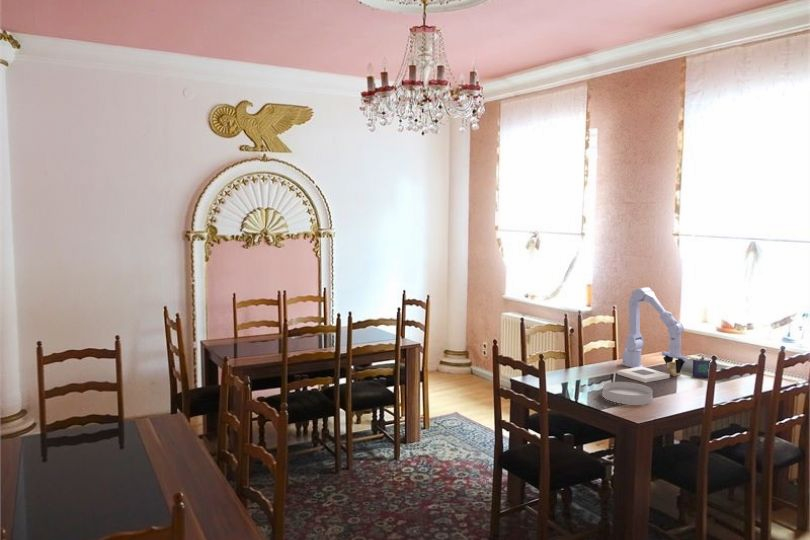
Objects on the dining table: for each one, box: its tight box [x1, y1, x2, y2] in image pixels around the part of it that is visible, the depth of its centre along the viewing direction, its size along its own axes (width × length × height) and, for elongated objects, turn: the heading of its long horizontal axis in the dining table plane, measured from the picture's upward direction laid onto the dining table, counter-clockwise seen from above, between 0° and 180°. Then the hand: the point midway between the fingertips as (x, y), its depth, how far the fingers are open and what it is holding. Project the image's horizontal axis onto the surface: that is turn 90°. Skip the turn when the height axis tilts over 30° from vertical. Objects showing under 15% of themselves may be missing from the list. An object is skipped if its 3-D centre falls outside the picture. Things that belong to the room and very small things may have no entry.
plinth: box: [617, 366, 671, 384], centre depth 333 cm, size 18×18×2 cm
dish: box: [601, 381, 654, 406], centre depth 295 cm, size 22×22×5 cm
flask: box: [692, 356, 712, 378], centre depth 332 cm, size 9×3×11 cm, turn 87°
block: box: [665, 361, 682, 377], centre depth 336 cm, size 5×5×6 cm
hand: (673, 371), depth 337 cm, fingers closed on block, 5 cm apart
